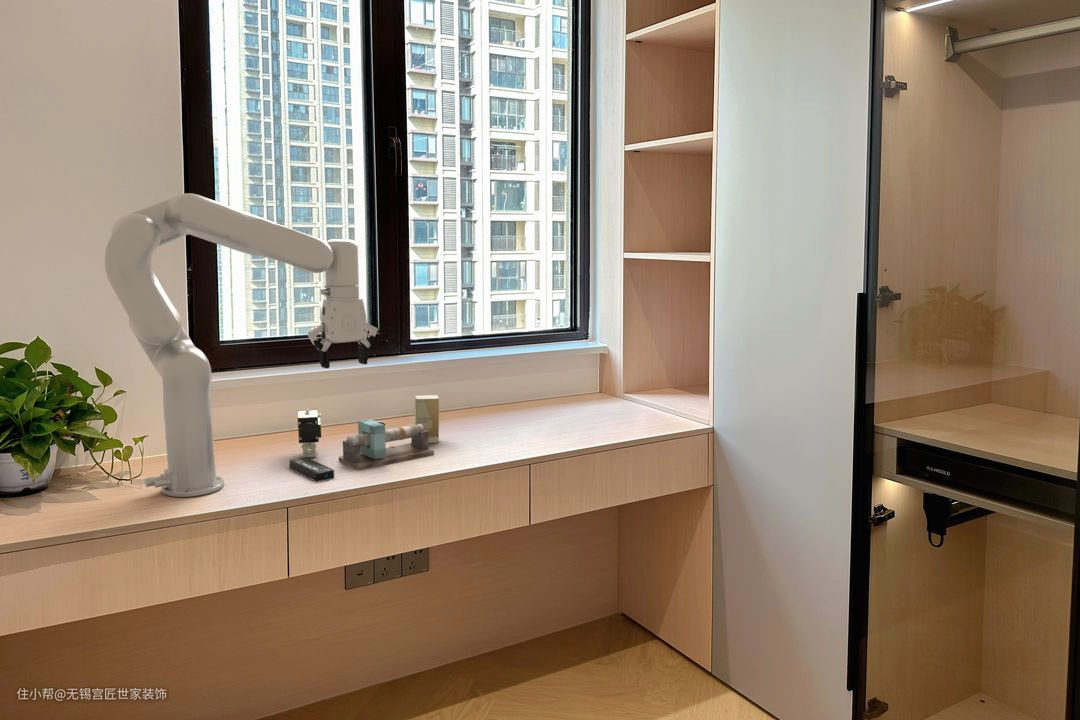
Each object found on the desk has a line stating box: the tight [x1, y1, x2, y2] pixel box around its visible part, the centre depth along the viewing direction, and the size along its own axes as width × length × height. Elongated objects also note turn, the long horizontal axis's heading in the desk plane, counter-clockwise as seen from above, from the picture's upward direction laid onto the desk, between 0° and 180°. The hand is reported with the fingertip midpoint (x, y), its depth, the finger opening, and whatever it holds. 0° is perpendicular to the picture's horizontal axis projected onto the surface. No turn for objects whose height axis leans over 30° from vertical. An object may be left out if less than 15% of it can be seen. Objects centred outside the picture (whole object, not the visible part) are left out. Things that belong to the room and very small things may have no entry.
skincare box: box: [414, 394, 440, 444], centre depth 222 cm, size 6×4×12 cm
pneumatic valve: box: [297, 408, 322, 459], centre depth 208 cm, size 6×12×12 cm, turn 15°
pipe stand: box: [338, 424, 435, 471], centre depth 207 cm, size 21×10×7 cm, turn 129°
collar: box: [357, 418, 387, 459], centre depth 205 cm, size 3×8×8 cm, turn 39°
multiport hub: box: [288, 457, 335, 482], centre depth 196 cm, size 4×14×2 cm, turn 41°
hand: (344, 365), depth 198 cm, fingers open, 9 cm apart
